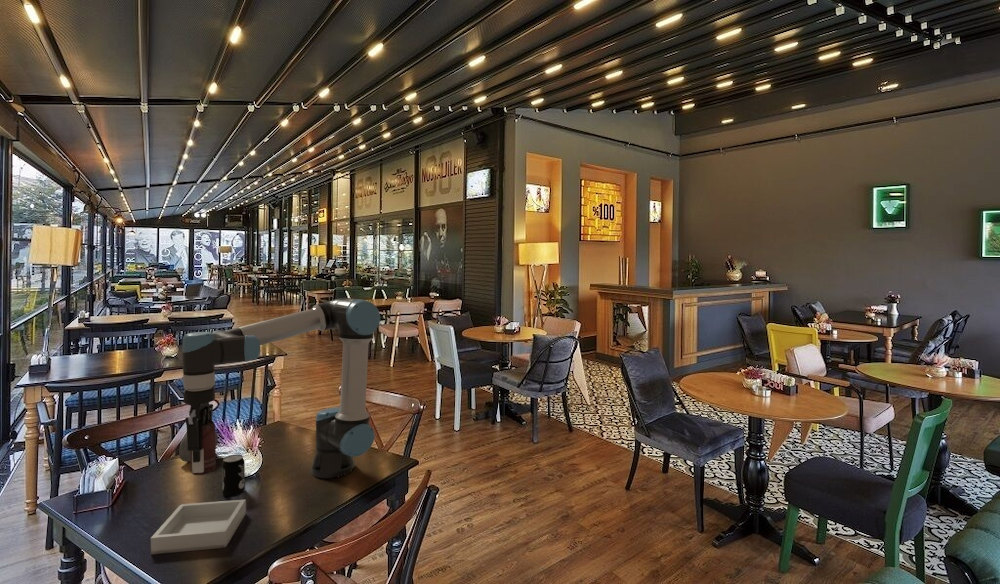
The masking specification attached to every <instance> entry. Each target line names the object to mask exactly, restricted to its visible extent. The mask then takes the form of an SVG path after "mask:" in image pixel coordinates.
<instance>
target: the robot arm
mask: <svg viewBox="0 0 1000 584" xmlns="http://www.w3.org/2000/svg"><path fill="white" fill-rule="evenodd" d="M380 323H381V312H380V311H379V309H378V307H377V306H376V305H375V304H374V303H373V302H372V301H368V300H365V299H361V298H351V297H340V298H339V297H338V298H336V299H332V300H331V299H330V300H328V301H324V302H322V303H318V304H314V305H313V306H312V308H309V309H307V310H302V311H298V312H294V313H290V314H286V315H283V316H278V317H275V318H271V319H266V320H262V321H258V322H255V323H254V322H253V323H251V324H247V325H243V326H239V327H236V328H231V329H227V330H224V329H220V330H214V331H211V332H210V331H197V332H196V331H195V332H189V333H186V334H185V335H183V337H182V346H181V347H182V349H181V353H182V373H183V374H182V376H181V380H183V382H182V383H183V389H184V390H183V403H184V404H185V405H189V407H190V408H189V411H188V413H189V414H188V415H189V416H186V417H185V425H186V432H187V443H188V451H192V473H202V472H204V449H202V435H203V425H204V424H205V425H206V424H207V423H208V421H213V409H214V404H213V403H211V402H213V401H215V399H216V390H215V389H216V388H215V387H214V386H215V385H216V375H215V367H216V365H225V364H234V363H242V362H246V363H247V362H250V361H255V360H257V359H258V358H259V357H260V354H261V346H263V345H267V344H271V343H273V342H278V341H282V340H285V339H288V338H293V337H295V336H298V335H304V334H306V333H310V332H312V331H313V332H314V331H316V330H318V331H321V332H323V331H328V330H338V339H339V340H340V341H341V342H342V358H341V359H342V360H341V381H340V382H341V383H340V400H339V401H340V402H339V403H340V405H339V406H335V407H329V408H324V409H321V410H319V411H317V413H316V417H315V443H316V448H315V449H316V450H315V455H314V458H313V461H312V463H311V471H310V472H311V475H312V476H313V477H315V478H318V479H335V478H334V477H337V478H339V477H338V476H341V475H344V474H347V473H349V472H350V471H351V470H352V469H353V468H354V469H355V460H354V458H355V457H360V456H362V455H364V454H366V453H367V452H368V450H369V449H371V447H372V446H373V444H374V441H375V438H376V435H375V430H374V429H373V427H372V426H371V425H370V413H369V412H368V411H367V410H366V403H367V402H366V401H367V386H368V385H367V384H368V383H367V382H368V363H369V361H368V360H369V343H370V342H371V341H372V340H373V339H374V333H375V332H376V331H377V329H378V328H379V327H380ZM350 473H351V472H350ZM350 473H349V474H350ZM347 475H348V474H347ZM344 476H345V475H344ZM341 477H342V476H341Z"/></svg>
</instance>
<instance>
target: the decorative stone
mask: <svg viewBox="0 0 1000 584" xmlns="http://www.w3.org/2000/svg"><path fill="white" fill-rule="evenodd" d="M218 436H219V435H218V434H217V432H216V431H215V447H216V448H217V444H218V441H219V438H218ZM178 449H179V450H178V456H179V459H180V460H181V461H182V462H185V463H191V455H190V451H188V443H187V431H186V432H185V434H184V435H183V438H182V440H181V442H180V443H179V448H178Z"/></svg>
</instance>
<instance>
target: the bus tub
mask: <svg viewBox="0 0 1000 584" xmlns="http://www.w3.org/2000/svg"><path fill="white" fill-rule="evenodd" d="M246 515H247V500H246V499H236V500H235V499H233V500H232V499H231V500H222V501H208V502H196V503H195V502H194V503H182V504H179V506H177V508H176V509H175V510H174V511H173V512H172V513H171V514H170V516H169V517H168V518H167V519H166V520H165V521H164V522H163V523H162V525H160V527H159V528H158V529H157V530H156V532H154V534H153V535H152V536H151V537H150V555H159V554H160V555H161V554H169V553H170V554H171V553H180V552H181V553H182V552H190V551H192V552H193V551H202V550H203V551H205V550H211V549H212V550H215V549H223V548H224V549H226V547H227V546H228V544H229V543H230V541H231V540H232V537H233V536H234V535H235V533H236V531H237V529H238V527H239V526H240V525H241V523H242V521H243V520H244V519H245V516H246Z"/></svg>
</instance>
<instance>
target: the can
mask: <svg viewBox="0 0 1000 584" xmlns="http://www.w3.org/2000/svg"><path fill="white" fill-rule="evenodd" d="M215 432H216V424H215V423H214V420H212V421H208V423H207V424H206V425H205V424H204V425H203V435H202V449H204V472H202V473H192V451H190V455H191V462H190V473H192V475H194V476H204V475H208V474H210V473H212V472H214V471H215V469H216V468H217V460H216V459H217V455H216V453H217V451H216V450H217V449H216V448H217V446H216V447H215Z"/></svg>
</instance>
